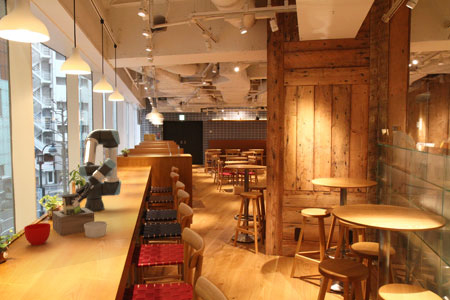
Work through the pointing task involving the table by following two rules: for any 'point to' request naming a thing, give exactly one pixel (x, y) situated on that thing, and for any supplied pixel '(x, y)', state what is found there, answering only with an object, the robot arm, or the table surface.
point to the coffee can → (70, 204)
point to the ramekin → (95, 229)
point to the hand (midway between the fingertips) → (72, 204)
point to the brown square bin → (71, 221)
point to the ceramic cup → (37, 233)
